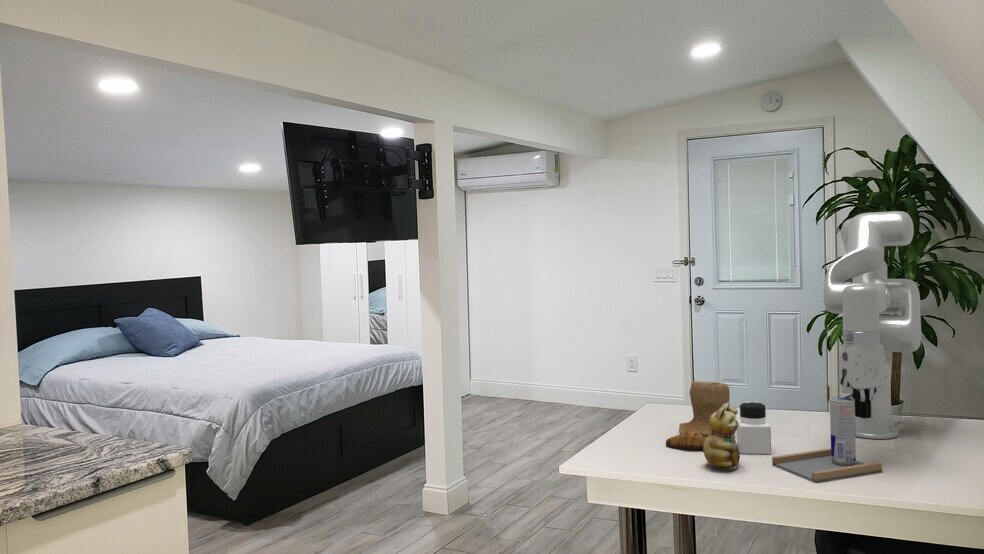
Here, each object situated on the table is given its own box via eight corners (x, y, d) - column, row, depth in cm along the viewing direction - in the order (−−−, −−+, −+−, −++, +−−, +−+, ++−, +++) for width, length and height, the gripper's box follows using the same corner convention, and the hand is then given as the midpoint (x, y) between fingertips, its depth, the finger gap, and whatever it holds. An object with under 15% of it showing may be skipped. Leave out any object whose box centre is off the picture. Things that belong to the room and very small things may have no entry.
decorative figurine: (736, 474, 162) (734, 408, 162) (699, 470, 166) (697, 406, 166) (743, 462, 171) (741, 400, 170) (708, 459, 175) (706, 398, 174)
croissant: (662, 450, 185) (662, 431, 185) (668, 444, 191) (667, 425, 191) (717, 455, 179) (716, 435, 179) (721, 448, 185) (720, 429, 185)
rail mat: (835, 455, 173) (834, 447, 173) (882, 472, 160) (882, 463, 160) (772, 465, 168) (772, 456, 168) (815, 482, 155) (815, 473, 155)
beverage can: (854, 460, 167) (852, 396, 167) (857, 466, 162) (855, 401, 162) (830, 459, 169) (828, 395, 168) (832, 465, 164) (831, 400, 164)
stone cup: (730, 429, 202) (728, 376, 202) (738, 440, 190) (736, 384, 190) (674, 429, 204) (673, 377, 204) (679, 440, 192) (678, 385, 192)
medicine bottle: (771, 454, 177) (770, 406, 176) (741, 454, 178) (739, 406, 178) (766, 446, 183) (765, 400, 183) (737, 446, 185) (735, 400, 185)
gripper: (847, 342, 160) (849, 424, 161) (900, 337, 165) (901, 417, 165) (822, 339, 168) (824, 417, 168) (873, 334, 172) (875, 410, 173)
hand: (863, 417), depth 167 cm, fingers closed
